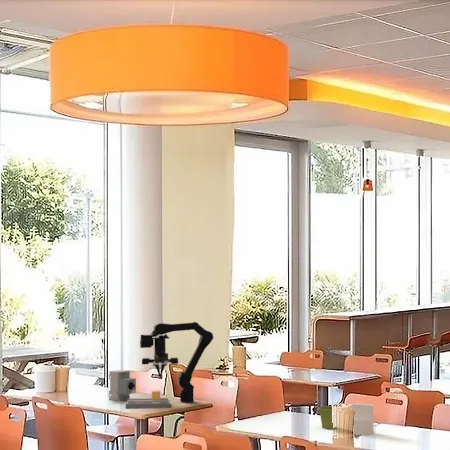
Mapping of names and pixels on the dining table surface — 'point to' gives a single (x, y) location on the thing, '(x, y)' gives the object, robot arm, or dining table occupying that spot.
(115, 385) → the circuit breaker
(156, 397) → the toggle
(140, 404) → the panel
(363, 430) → the grey upright block
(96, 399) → the dining table surface
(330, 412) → the plant pot
